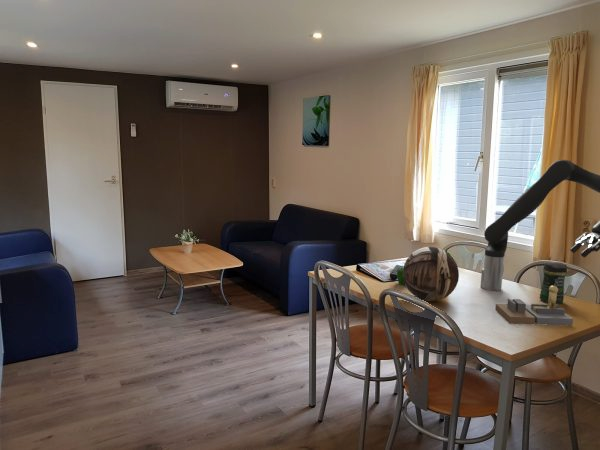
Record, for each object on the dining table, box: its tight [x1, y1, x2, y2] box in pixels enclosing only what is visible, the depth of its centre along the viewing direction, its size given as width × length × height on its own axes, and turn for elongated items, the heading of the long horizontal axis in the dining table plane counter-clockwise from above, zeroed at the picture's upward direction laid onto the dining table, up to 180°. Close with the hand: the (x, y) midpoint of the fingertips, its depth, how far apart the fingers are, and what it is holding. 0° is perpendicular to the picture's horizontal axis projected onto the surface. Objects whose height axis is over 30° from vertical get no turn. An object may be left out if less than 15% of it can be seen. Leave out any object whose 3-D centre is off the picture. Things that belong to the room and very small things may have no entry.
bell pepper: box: [396, 267, 406, 286], centre depth 242 cm, size 8×8×10 cm
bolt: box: [533, 286, 558, 312], centre depth 196 cm, size 9×3×11 cm, turn 87°
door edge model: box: [494, 298, 574, 326], centre depth 197 cm, size 25×16×7 cm, turn 87°
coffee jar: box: [539, 262, 568, 304], centre depth 217 cm, size 10×8×19 cm
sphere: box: [402, 246, 460, 302], centre depth 216 cm, size 25×25×25 cm
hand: (576, 253), depth 196 cm, fingers open, 8 cm apart
